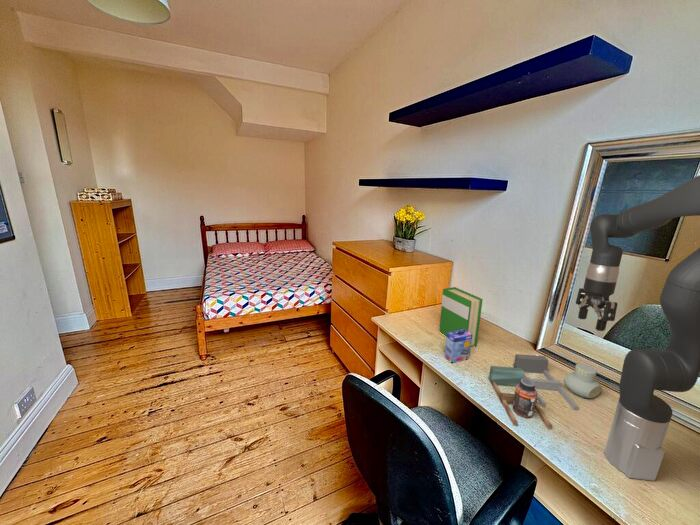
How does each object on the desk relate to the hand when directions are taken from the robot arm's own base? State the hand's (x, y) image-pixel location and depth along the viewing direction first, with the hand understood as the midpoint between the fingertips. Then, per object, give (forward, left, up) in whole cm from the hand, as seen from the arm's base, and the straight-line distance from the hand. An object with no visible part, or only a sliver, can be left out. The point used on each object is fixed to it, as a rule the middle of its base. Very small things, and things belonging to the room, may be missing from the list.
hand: (590, 324), depth 94 cm
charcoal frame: (+4, +8, -28) cm, 30 cm away
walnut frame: (-5, +21, -28) cm, 36 cm away
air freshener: (+3, -4, -28) cm, 29 cm away
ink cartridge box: (+19, +36, -28) cm, 50 cm away
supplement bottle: (-10, +22, -28) cm, 37 cm away
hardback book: (+36, +32, -28) cm, 56 cm away
